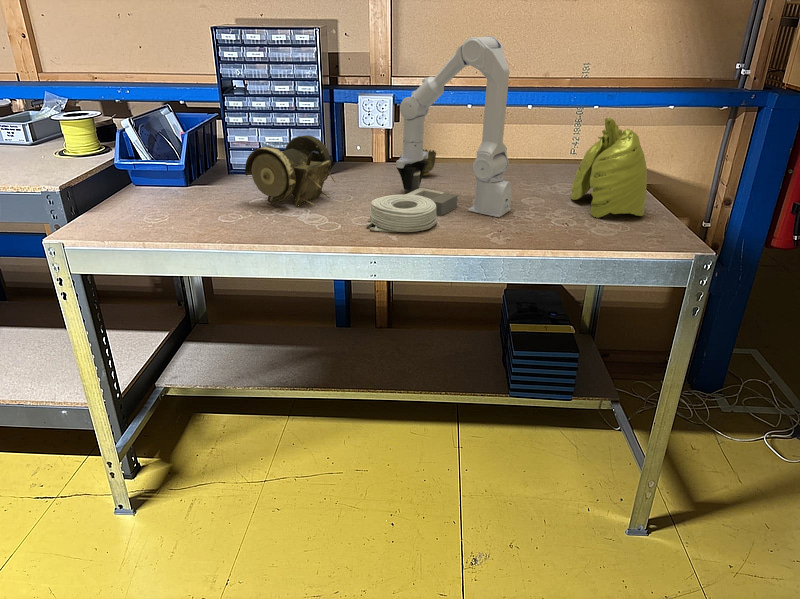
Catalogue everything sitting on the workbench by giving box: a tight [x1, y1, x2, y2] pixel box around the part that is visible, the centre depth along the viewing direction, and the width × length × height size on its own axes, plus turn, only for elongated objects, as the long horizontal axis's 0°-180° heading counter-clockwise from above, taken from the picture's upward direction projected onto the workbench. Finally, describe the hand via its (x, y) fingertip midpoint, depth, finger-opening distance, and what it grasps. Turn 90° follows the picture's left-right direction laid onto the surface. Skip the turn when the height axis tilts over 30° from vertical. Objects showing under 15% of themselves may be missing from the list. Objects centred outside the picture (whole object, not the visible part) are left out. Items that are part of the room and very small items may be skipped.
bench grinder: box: [244, 135, 336, 207], centre depth 162 cm, size 20×22×20 cm
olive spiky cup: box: [422, 148, 437, 178], centre depth 189 cm, size 8×7×8 cm
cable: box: [365, 194, 438, 233], centre depth 150 cm, size 18×18×6 cm
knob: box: [403, 169, 420, 195], centre depth 172 cm, size 5×5×7 cm
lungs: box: [570, 117, 648, 219], centre depth 160 cm, size 25×16×24 cm, turn 6°
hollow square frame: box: [404, 187, 459, 217], centre depth 162 cm, size 12×9×4 cm
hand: (411, 187), depth 173 cm, fingers closed on knob, 4 cm apart
